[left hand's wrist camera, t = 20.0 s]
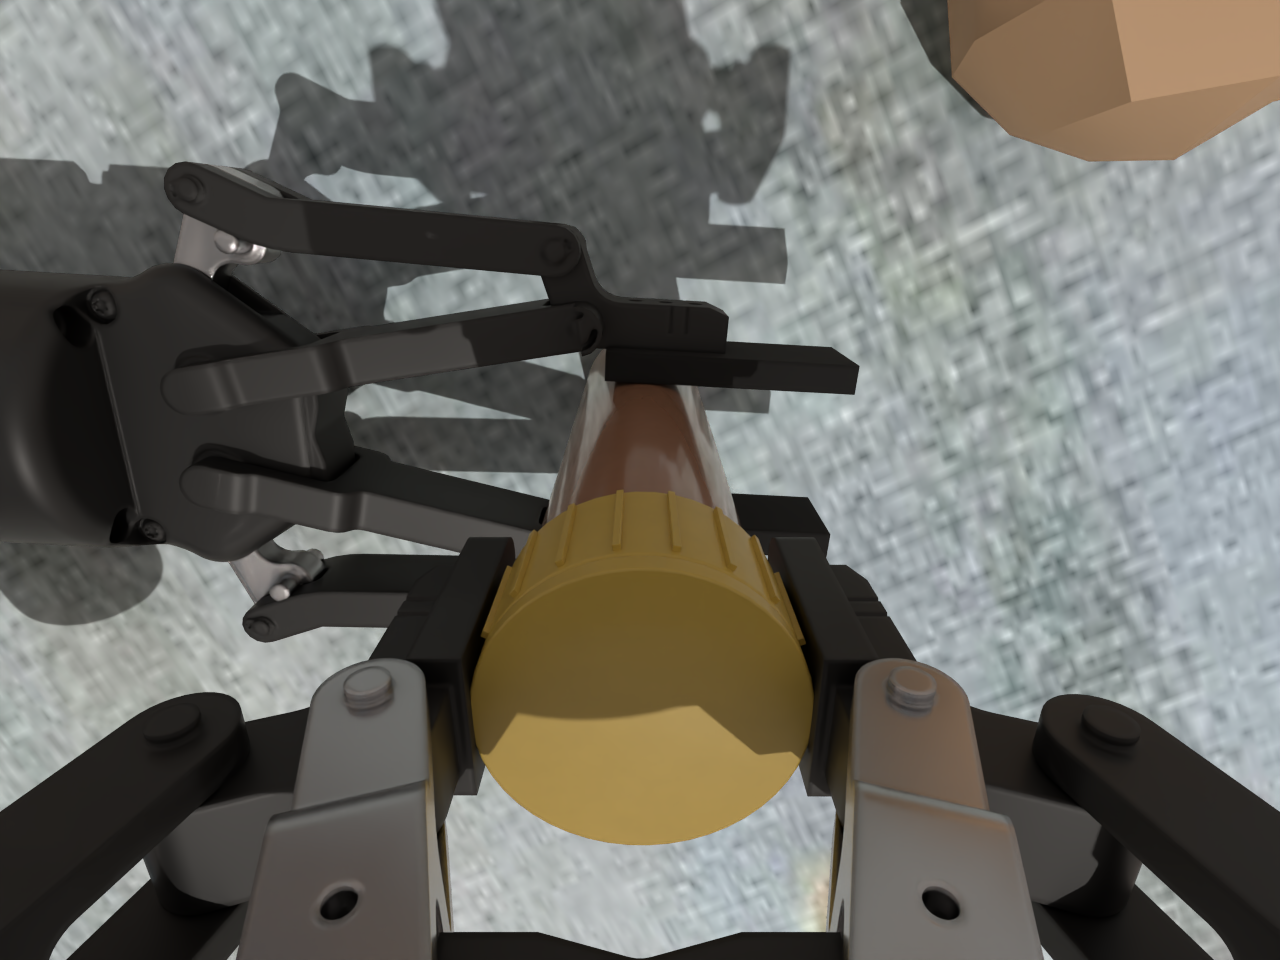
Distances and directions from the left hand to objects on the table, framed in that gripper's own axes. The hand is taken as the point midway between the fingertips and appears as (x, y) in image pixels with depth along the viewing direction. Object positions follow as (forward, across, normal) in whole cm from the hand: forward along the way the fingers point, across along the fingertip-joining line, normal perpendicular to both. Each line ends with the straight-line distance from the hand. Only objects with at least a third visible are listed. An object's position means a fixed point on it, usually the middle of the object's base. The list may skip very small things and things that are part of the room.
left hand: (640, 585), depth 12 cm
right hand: (+8, -5, 0) cm, 10 cm away
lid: (-3, 0, 0) cm, 3 cm away
